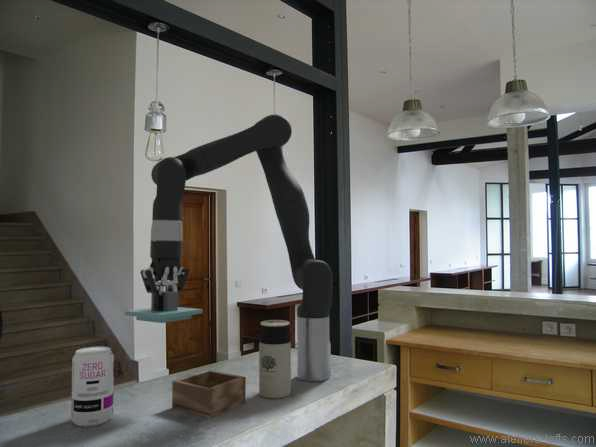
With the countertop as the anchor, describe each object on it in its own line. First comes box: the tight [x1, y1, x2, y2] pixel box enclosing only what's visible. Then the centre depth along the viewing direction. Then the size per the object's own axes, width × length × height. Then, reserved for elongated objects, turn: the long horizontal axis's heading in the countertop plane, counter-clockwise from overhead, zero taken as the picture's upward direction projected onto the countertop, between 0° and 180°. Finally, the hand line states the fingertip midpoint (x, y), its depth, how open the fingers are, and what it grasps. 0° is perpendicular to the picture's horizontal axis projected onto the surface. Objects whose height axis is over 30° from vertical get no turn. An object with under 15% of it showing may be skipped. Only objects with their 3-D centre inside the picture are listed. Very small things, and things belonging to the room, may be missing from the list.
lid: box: [124, 290, 204, 324], centre depth 115 cm, size 13×13×7 cm
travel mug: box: [258, 319, 292, 400], centre depth 119 cm, size 8×8×18 cm
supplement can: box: [70, 346, 115, 427], centre depth 101 cm, size 8×8×15 cm
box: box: [171, 369, 247, 419], centre depth 111 cm, size 12×12×6 cm
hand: (164, 309), depth 115 cm, fingers closed on lid, 3 cm apart
